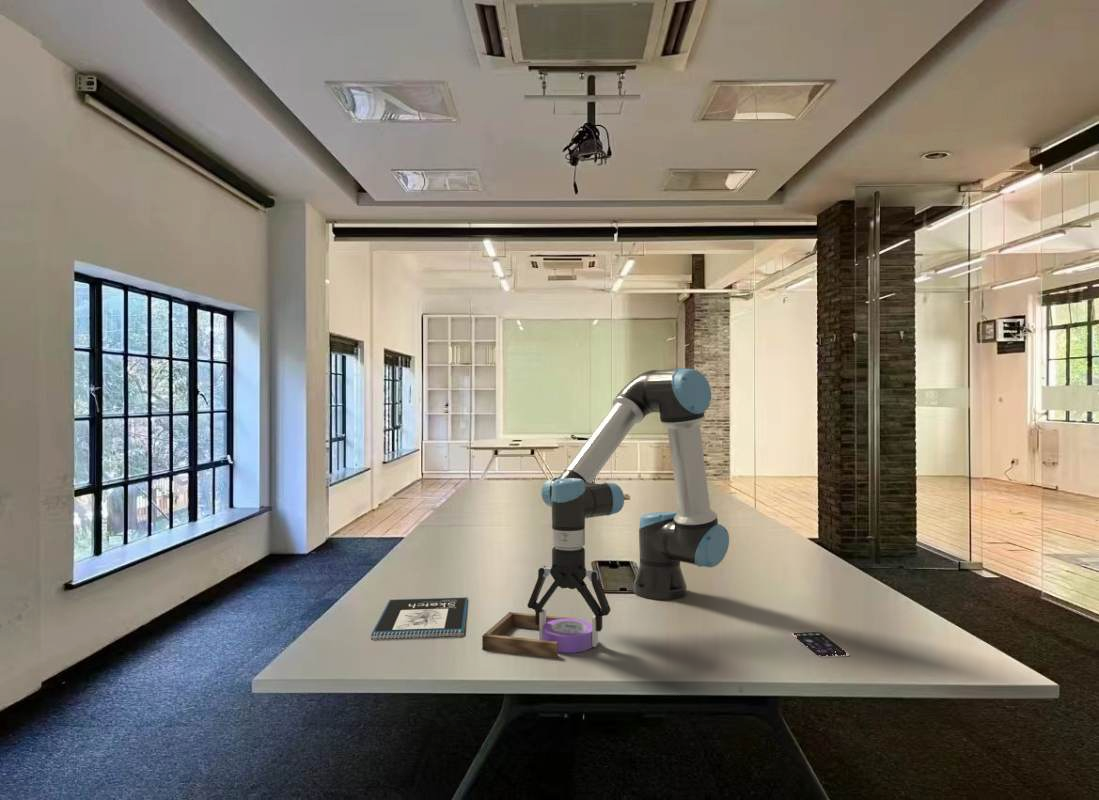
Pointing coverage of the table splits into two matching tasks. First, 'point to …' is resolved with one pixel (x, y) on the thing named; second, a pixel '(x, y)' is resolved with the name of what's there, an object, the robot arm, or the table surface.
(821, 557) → the table surface
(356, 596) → the table surface
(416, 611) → the sketchbook
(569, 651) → the masking tape
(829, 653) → the smartphone
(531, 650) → the wooden u-shaped frame
